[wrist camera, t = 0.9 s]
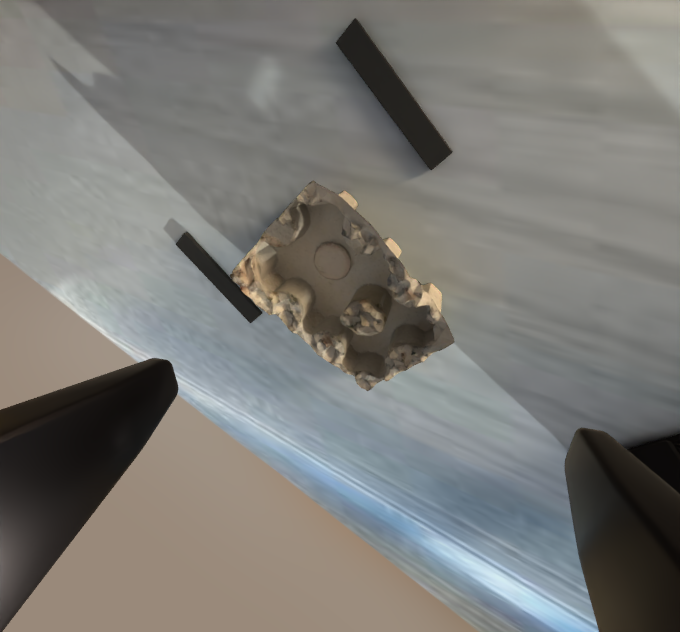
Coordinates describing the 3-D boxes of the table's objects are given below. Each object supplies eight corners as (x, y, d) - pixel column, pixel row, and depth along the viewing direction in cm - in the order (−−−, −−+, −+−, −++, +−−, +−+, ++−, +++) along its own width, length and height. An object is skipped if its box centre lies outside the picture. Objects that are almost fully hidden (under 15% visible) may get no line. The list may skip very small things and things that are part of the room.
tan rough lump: (255, 249, 22) (217, 271, 18) (340, 161, 18) (313, 167, 15) (365, 371, 24) (350, 413, 20) (464, 313, 20) (466, 352, 16)
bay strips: (452, 151, 17) (452, 152, 16) (252, 321, 24) (250, 323, 24) (356, 19, 15) (355, 17, 15) (178, 243, 23) (175, 244, 23)
